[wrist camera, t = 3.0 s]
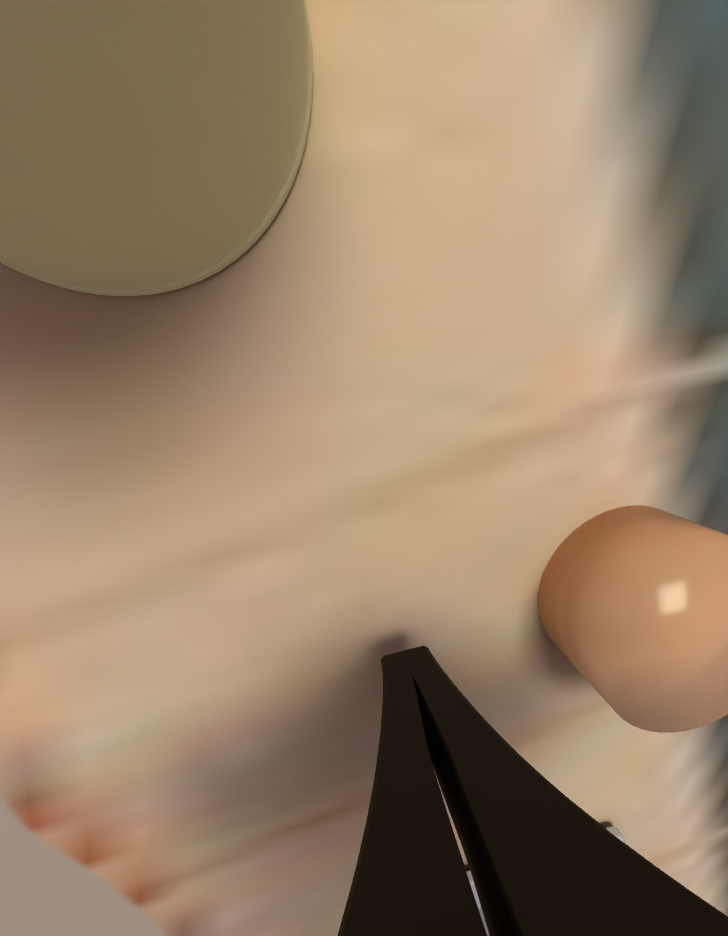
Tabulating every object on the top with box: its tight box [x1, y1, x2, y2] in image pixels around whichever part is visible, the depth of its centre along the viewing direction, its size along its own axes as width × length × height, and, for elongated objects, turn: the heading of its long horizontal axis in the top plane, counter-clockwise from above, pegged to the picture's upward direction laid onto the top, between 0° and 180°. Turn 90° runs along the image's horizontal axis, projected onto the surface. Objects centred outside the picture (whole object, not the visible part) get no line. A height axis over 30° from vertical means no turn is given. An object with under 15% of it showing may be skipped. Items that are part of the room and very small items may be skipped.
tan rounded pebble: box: [538, 505, 728, 733], centre depth 11 cm, size 6×6×3 cm
